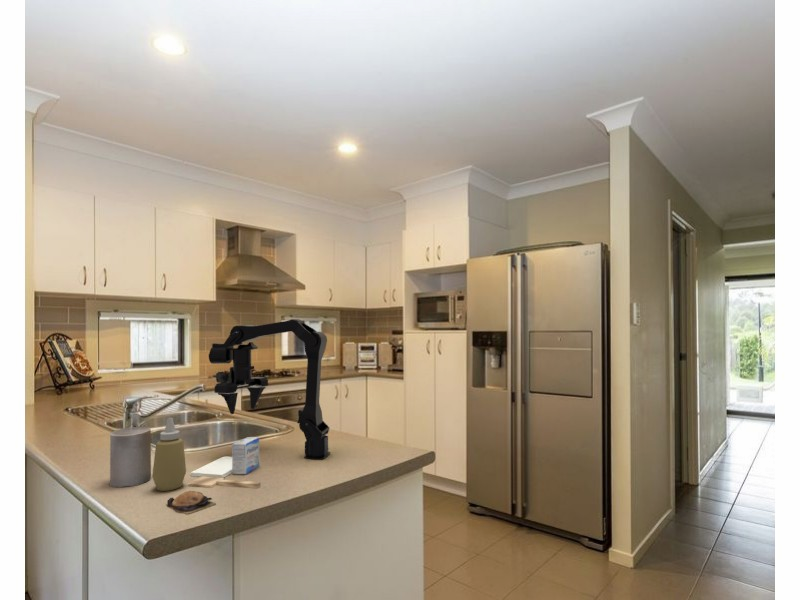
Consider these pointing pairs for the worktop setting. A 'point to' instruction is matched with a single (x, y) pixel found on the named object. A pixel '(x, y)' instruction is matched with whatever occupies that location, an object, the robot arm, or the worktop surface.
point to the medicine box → (245, 455)
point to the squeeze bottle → (169, 459)
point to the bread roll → (190, 502)
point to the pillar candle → (130, 456)
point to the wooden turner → (221, 483)
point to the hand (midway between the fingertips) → (242, 411)
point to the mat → (215, 468)
